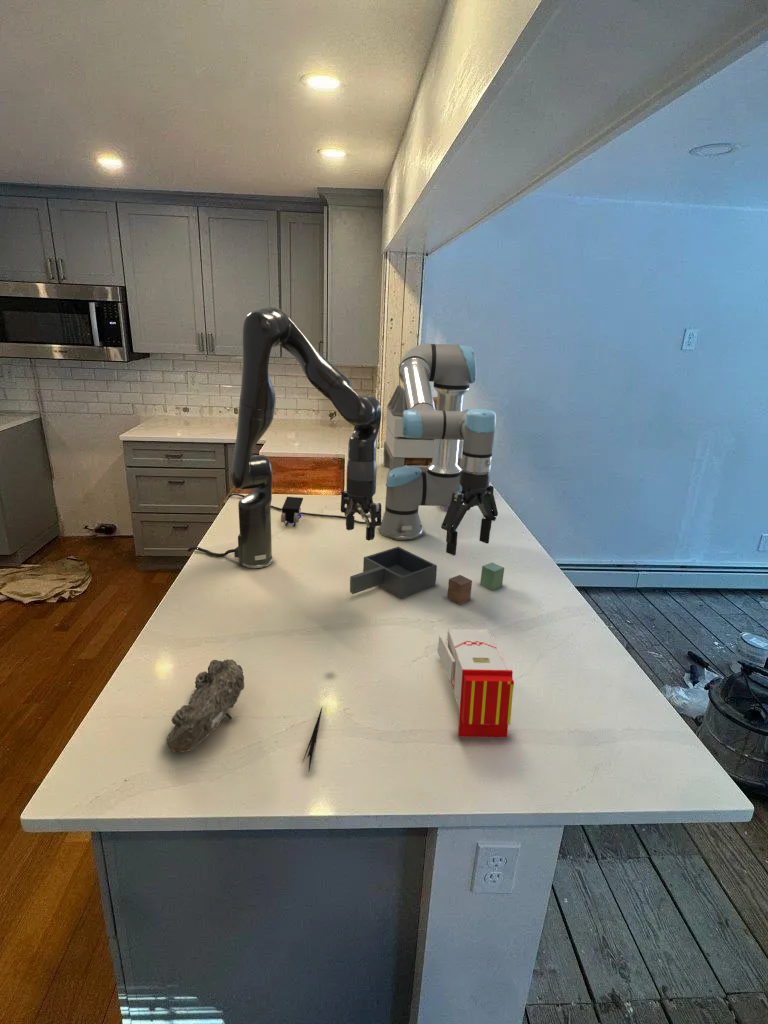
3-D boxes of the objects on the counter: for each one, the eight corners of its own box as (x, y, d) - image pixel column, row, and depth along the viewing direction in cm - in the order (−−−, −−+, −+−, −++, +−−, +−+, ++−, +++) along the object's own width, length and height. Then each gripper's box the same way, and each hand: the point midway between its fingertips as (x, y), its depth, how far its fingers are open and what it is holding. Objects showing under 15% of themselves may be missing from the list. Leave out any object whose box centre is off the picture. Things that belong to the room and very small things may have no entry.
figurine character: (299, 532, 200) (304, 513, 214) (298, 513, 197) (303, 495, 210) (280, 532, 200) (286, 513, 213) (279, 512, 197) (285, 494, 210)
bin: (333, 586, 160) (333, 566, 158) (397, 565, 176) (398, 546, 173) (370, 610, 149) (371, 589, 147) (435, 585, 164) (437, 565, 162)
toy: (488, 613, 130) (523, 677, 101) (484, 667, 133) (517, 744, 104) (435, 612, 130) (455, 676, 101) (432, 666, 133) (451, 743, 103)
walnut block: (447, 598, 157) (448, 578, 155) (458, 593, 159) (459, 574, 157) (459, 604, 154) (461, 585, 151) (470, 600, 156) (472, 580, 154)
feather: (331, 679, 122) (336, 673, 122) (307, 777, 96) (313, 769, 95) (324, 675, 122) (329, 669, 121) (298, 772, 95) (304, 764, 95)
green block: (480, 584, 165) (482, 566, 163) (489, 580, 168) (492, 562, 166) (492, 590, 162) (494, 571, 160) (502, 586, 165) (504, 567, 163)
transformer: (382, 463, 289) (386, 382, 275) (445, 464, 293) (451, 384, 279) (390, 482, 257) (394, 392, 243) (460, 483, 261) (468, 394, 247)
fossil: (192, 660, 117) (244, 628, 112) (224, 691, 120) (276, 661, 115) (142, 746, 98) (202, 712, 93) (182, 779, 101) (242, 748, 96)
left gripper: (333, 471, 147) (332, 529, 152) (367, 484, 137) (365, 546, 142) (356, 467, 152) (354, 523, 157) (390, 480, 141) (388, 540, 147)
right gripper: (453, 482, 134) (446, 563, 141) (516, 467, 150) (507, 541, 157) (430, 474, 139) (425, 554, 147) (494, 461, 155) (486, 533, 162)
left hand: (359, 534), depth 150 cm, fingers open, 8 cm apart
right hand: (467, 547), depth 152 cm, fingers open, 13 cm apart
